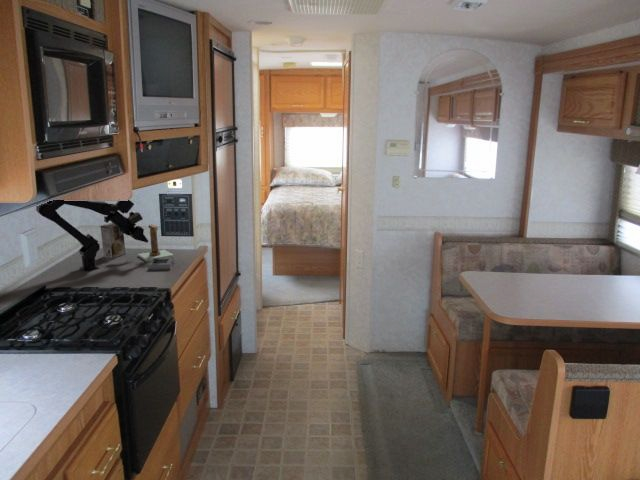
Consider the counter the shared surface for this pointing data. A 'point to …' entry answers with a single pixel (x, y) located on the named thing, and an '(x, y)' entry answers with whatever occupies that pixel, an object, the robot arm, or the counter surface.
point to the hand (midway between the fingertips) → (144, 240)
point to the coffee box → (112, 241)
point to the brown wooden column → (154, 240)
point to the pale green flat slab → (162, 255)
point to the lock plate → (161, 264)
